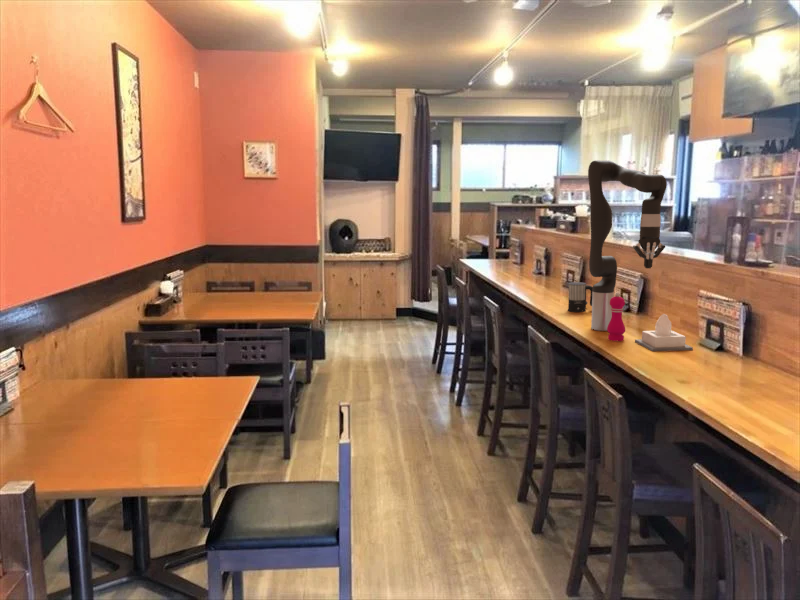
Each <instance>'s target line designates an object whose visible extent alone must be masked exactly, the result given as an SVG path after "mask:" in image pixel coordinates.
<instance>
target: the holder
mask: <svg viewBox="0 0 800 600" xmlns="http://www.w3.org/2000/svg"><path fill="white" fill-rule="evenodd" d="M686 339H687V337H686V336H685V335H683V334H681V333H678V332H676V331H674V330H672V329H671V336H657V335H655V330H642V332H641V339H640V338H639V339H634V343H637V344H638V345H640V346H642V347H643V346H644V348H645V347H646V348H645V349H647V348H648V350H649V351H651V352H670V351H671V352H673V351H676V352H677V351H693V349H694V347H692V346H690V345H689V344H686Z"/></svg>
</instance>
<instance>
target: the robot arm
mask: <svg viewBox="0 0 800 600" xmlns="http://www.w3.org/2000/svg"><path fill="white" fill-rule="evenodd" d="M587 175H588V176H587V177H588V178H587V179H588V188H589V201H590V203H589V205H590V212H589V213H590V215H589V216H590V217H589V218H590V248H589V249H590V250H589V258H588V259H589V260H588V264H589V265H588V267H589V272H590V275H591V276H592V277H594V278H601V279H600V280H599V282H597V283H595V284H593V285H592V287H593V289H592V306H591V322H590V323H591V324H590V326H591V327H590V328H591V330H593V329H594V331H599V332H604V331H605V332H608V331H607V327H608V324H609V322H610V320H611V317H612V312H611V308H612V307H611V305H610V300H611V298H612V297H615V287H616V284H617V274H618V264H617V260H616V258H615V256H612V255H603V248H604V247H603V246H604V243H605V241H606V239H607V238H608V236H609V234H610V233H611V230H612V228H613V210H612V207H611V206H610V203H609V202H608V200H607V198H606V196H605V195H604V192H603V185H602V184H603V182H615V181H616V182H620V183H621V184H622V185H624V186H626V187H628V188H632V189H635V190H637V191H639V192H641V193H644V194H645V193H646V194H650V196H649V198H646V199H643V200H642V205H641V213H640V214H641V215H640V225H639V240H638V242H637V243H636V244H635V245H633V246H632V248H633V249H634V252H636V254H637V255H638V256H639V258H642V259H643V266H644V268H645V269H651V268H652V267H653V262H654V259H655V258H658V256H660V255H661V253H662V252H663V250H664V249H666V245H665V244H664V243H663V244H662V243H661V240H660V236H661V224H662V221H661V208H662V202H663V199H664V197H665V193H666V190H667V185H668V183H667V178H666V177H665V176H664V175H663V174H646V173H645V172H643V171H641V170H636V169H631V168H627V167H624V166H621V165H620V164H618V163H616V162H614V161H611V160H607V159H606V160H604V159H603V160H598V159H597V160H592V161H591V162H590V163H589V165H588V169H587Z"/></svg>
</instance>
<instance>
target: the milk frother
mask: <svg viewBox="0 0 800 600" xmlns="http://www.w3.org/2000/svg"><path fill="white" fill-rule="evenodd" d="M567 285H568V306H567V311H568V312H571V313H572V312H573V313H583V312H586V311H587V309H586V308H587V305H588V301H587V290H589V291H590V294H589V295H590V296H589V305H590V307H592V289H593V285H587V283H586V282H580V281H575V282H568V283H567Z"/></svg>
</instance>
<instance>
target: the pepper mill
mask: <svg viewBox="0 0 800 600" xmlns="http://www.w3.org/2000/svg"><path fill="white" fill-rule="evenodd" d="M610 305H611V307H612V308H611V312H612V317H611V320H610V322H609V324H608V327H607V331H606V332H608V333H609V334H608V335H607V338H608V339H609V340H608V341H611V340H612V341H611V342H623V341H624V338H625V336H624V334H625V332H626V325H625V323H624V320H623V312H624V307H625V305H626V301H625V299H624V298H623V297H622V296H621V295H620V293H619V292H616V293H614V297H612V298H611V300H610Z"/></svg>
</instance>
